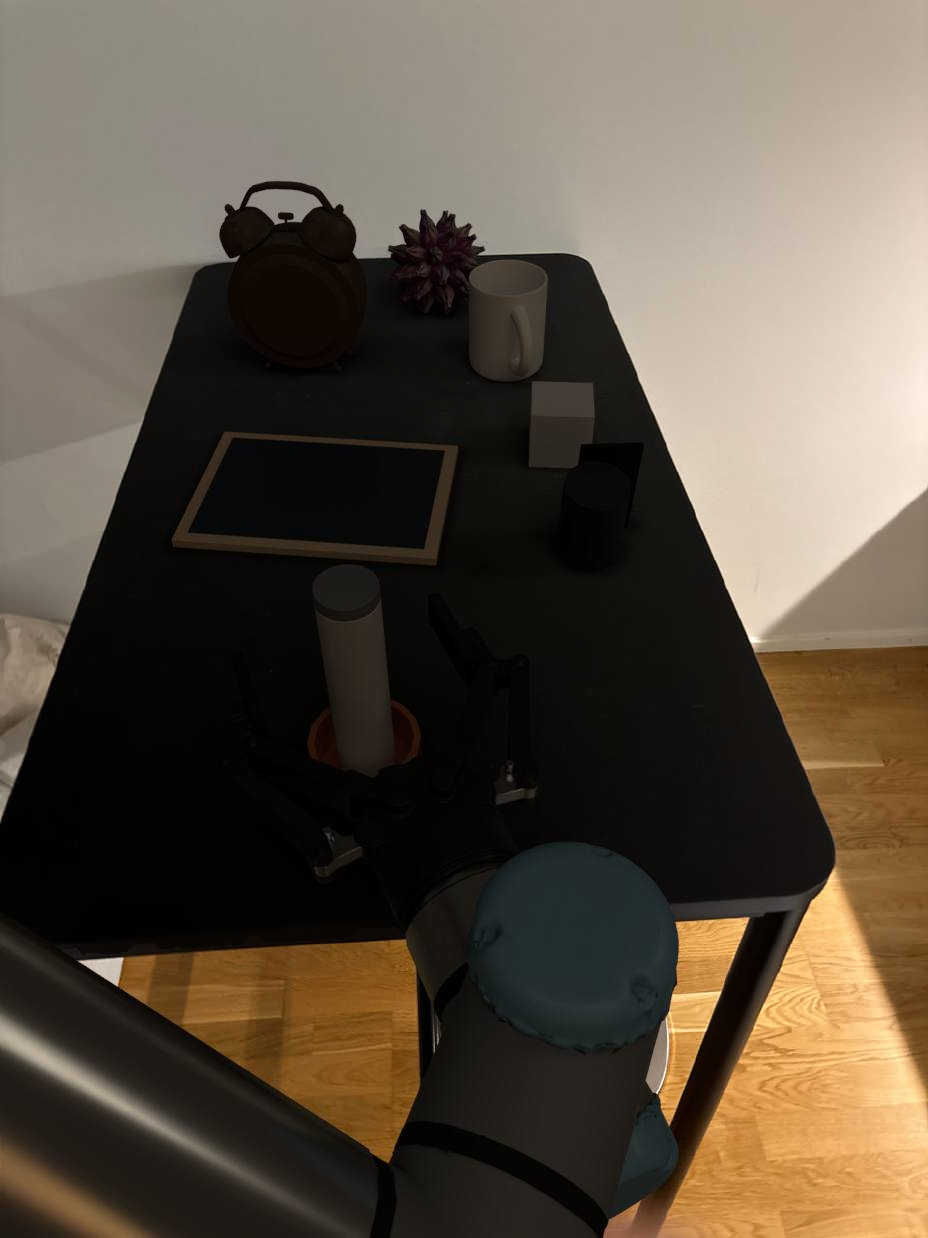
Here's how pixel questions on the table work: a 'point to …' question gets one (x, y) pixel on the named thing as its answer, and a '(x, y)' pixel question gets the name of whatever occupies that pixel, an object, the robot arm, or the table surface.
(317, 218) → the alarm clock
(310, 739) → the bowl
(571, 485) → the speaker
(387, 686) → the grey-capped cream cylinder
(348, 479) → the picture frame
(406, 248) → the flower
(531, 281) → the mug
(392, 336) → the table surface
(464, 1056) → the robot arm
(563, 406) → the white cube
